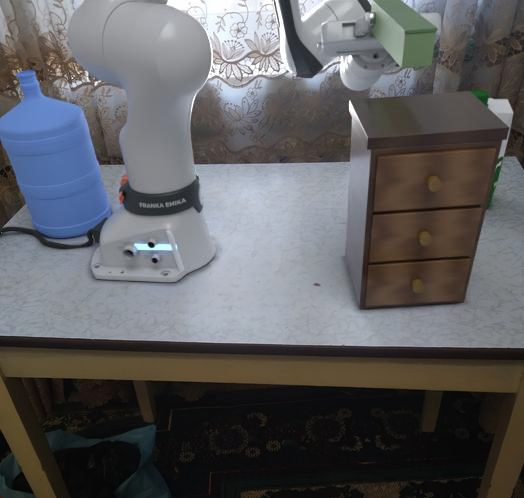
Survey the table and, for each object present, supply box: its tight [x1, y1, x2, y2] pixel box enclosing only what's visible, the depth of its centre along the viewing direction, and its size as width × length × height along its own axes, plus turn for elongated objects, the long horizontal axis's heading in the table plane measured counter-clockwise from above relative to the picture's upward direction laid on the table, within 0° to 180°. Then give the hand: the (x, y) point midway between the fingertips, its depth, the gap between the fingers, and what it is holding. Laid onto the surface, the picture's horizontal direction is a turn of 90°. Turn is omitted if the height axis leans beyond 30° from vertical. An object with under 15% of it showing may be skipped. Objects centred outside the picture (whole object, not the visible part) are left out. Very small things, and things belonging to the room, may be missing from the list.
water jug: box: [0, 69, 112, 239], centre depth 99 cm, size 16×16×28 cm
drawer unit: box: [345, 90, 509, 310], centre depth 77 cm, size 17×17×26 cm
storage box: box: [370, 0, 438, 69], centre depth 78 cm, size 4×24×4 cm, turn 1°
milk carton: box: [468, 89, 514, 210], centre depth 98 cm, size 9×9×20 cm
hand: (388, 15), depth 83 cm, fingers closed on storage box, 4 cm apart
